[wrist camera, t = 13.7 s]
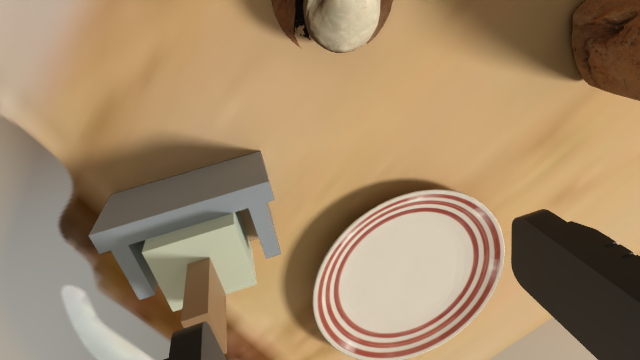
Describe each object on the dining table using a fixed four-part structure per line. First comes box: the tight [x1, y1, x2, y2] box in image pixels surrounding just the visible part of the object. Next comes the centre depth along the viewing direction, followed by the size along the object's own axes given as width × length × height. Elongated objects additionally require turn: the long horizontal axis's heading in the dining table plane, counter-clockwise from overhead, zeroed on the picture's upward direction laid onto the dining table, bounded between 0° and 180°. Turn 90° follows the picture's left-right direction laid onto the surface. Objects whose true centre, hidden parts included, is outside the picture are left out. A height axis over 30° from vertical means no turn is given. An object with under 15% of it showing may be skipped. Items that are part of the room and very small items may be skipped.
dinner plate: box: [313, 189, 505, 360], centre depth 53 cm, size 28×27×3 cm
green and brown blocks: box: [142, 211, 257, 354], centre depth 35 cm, size 7×8×13 cm
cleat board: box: [89, 151, 281, 300], centre depth 40 cm, size 8×16×8 cm, turn 103°
